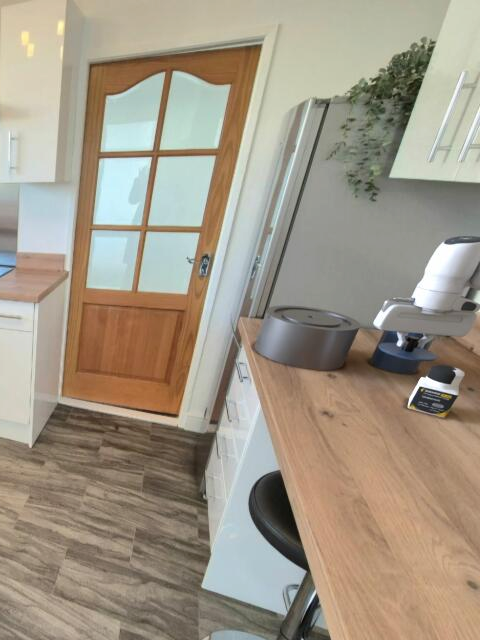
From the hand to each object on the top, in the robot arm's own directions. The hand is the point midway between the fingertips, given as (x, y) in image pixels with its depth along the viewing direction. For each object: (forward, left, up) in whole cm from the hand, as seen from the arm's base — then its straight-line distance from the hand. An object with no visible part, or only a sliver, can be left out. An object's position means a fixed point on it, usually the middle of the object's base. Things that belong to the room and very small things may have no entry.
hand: (409, 347), depth 121 cm
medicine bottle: (-6, +13, -12) cm, 19 cm away
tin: (-2, -17, -12) cm, 21 cm away
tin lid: (0, 0, -2) cm, 2 cm away
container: (+23, -10, -12) cm, 28 cm away
